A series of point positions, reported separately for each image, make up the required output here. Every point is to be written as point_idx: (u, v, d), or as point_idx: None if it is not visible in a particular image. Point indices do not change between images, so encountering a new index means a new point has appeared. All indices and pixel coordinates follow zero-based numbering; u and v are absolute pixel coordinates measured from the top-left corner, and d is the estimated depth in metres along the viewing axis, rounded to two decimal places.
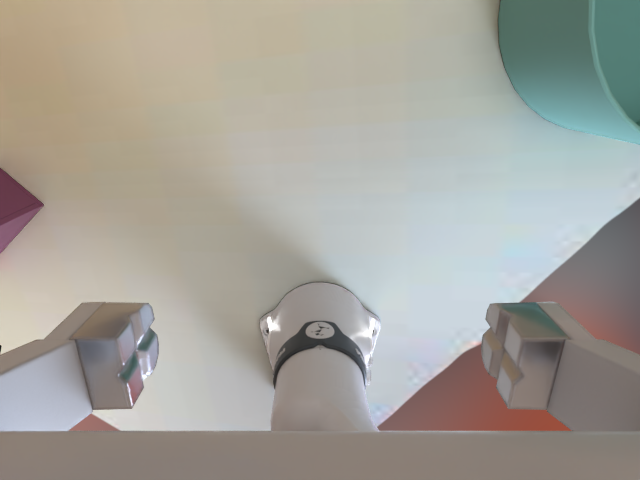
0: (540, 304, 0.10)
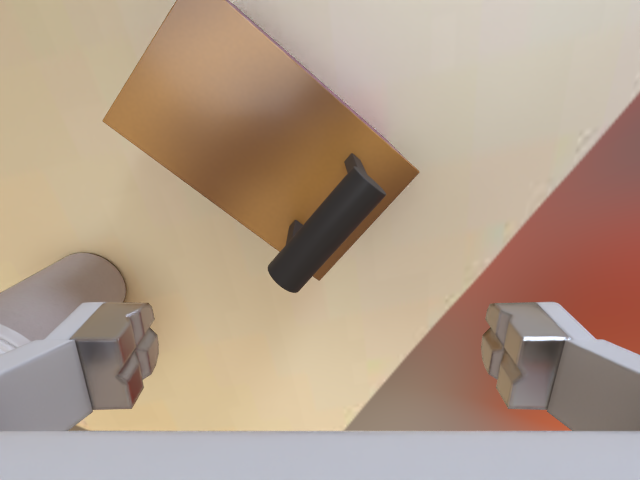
0: (540, 304, 0.10)
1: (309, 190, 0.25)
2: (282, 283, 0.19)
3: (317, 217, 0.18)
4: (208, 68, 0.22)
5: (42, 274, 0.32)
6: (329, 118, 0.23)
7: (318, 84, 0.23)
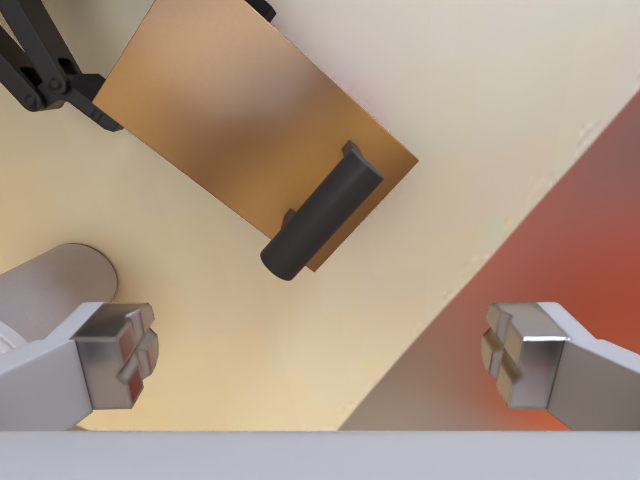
0: (540, 304, 0.10)
1: (305, 178, 0.24)
2: (275, 270, 0.18)
3: (312, 201, 0.18)
4: (202, 49, 0.22)
5: (30, 264, 0.31)
6: (326, 103, 0.23)
7: (315, 67, 0.22)
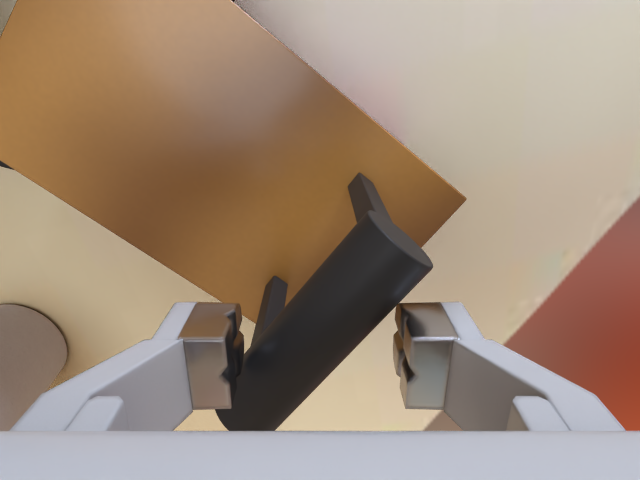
0: (444, 304, 0.10)
1: (294, 231, 0.16)
2: None
3: (299, 312, 0.09)
4: (118, 41, 0.14)
5: None
6: (321, 118, 0.14)
7: (302, 62, 0.14)
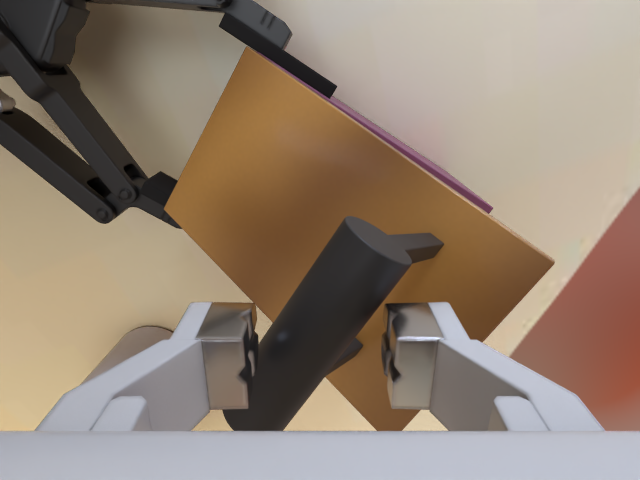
0: (430, 304, 0.10)
1: None
2: (230, 419, 0.11)
3: (287, 303, 0.10)
4: (255, 140, 0.19)
5: (113, 361, 0.31)
6: (394, 184, 0.16)
7: (377, 140, 0.16)
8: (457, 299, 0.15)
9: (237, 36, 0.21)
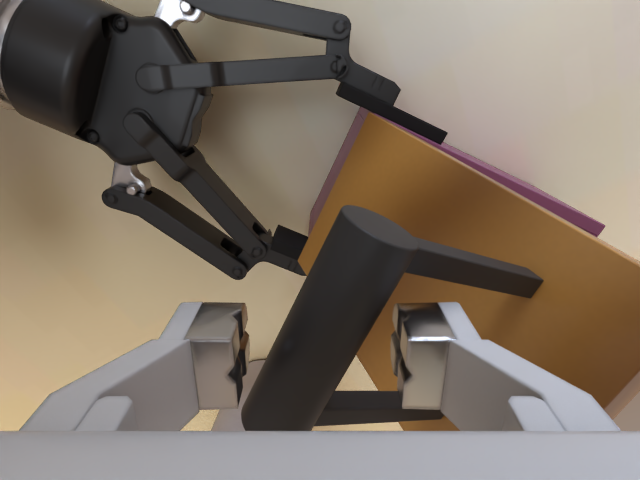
0: (440, 304, 0.10)
1: None
2: (242, 414, 0.11)
3: None
4: (368, 191, 0.20)
5: (240, 398, 0.34)
6: (488, 216, 0.14)
7: (472, 172, 0.15)
8: (561, 352, 0.12)
9: (354, 101, 0.23)
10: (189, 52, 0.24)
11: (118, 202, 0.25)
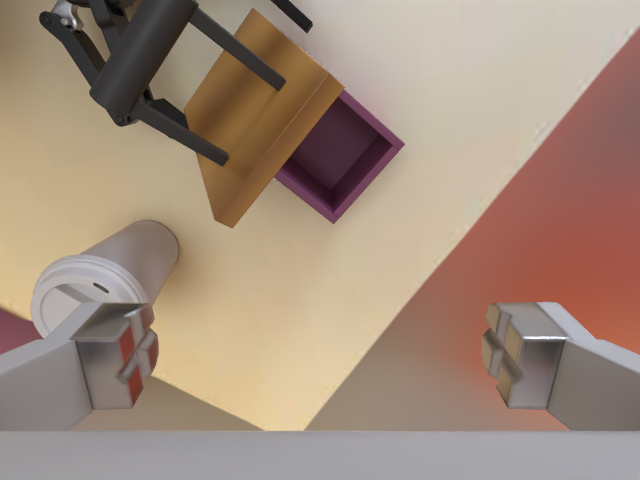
0: (540, 304, 0.10)
1: (245, 122, 0.24)
2: None
3: None
4: None
5: (122, 233, 0.42)
6: (279, 55, 0.24)
7: (282, 34, 0.25)
8: (279, 112, 0.21)
9: None
10: None
11: (50, 25, 0.33)
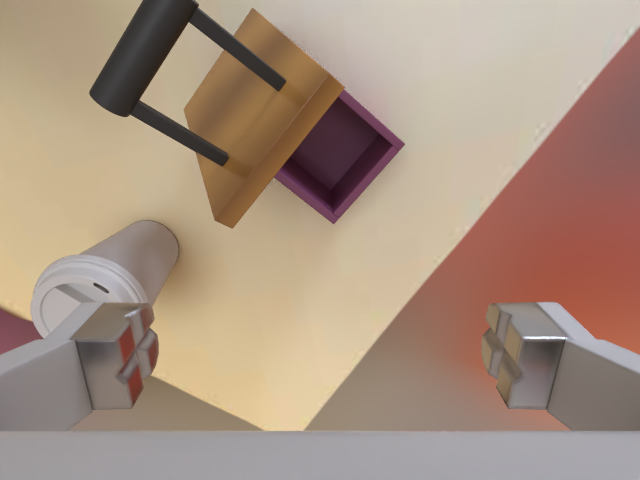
0: (540, 304, 0.10)
1: (245, 123, 0.24)
2: (91, 88, 0.19)
3: None
4: None
5: (122, 233, 0.42)
6: (279, 56, 0.24)
7: (282, 34, 0.25)
8: (279, 112, 0.21)
9: None
10: None
11: None
